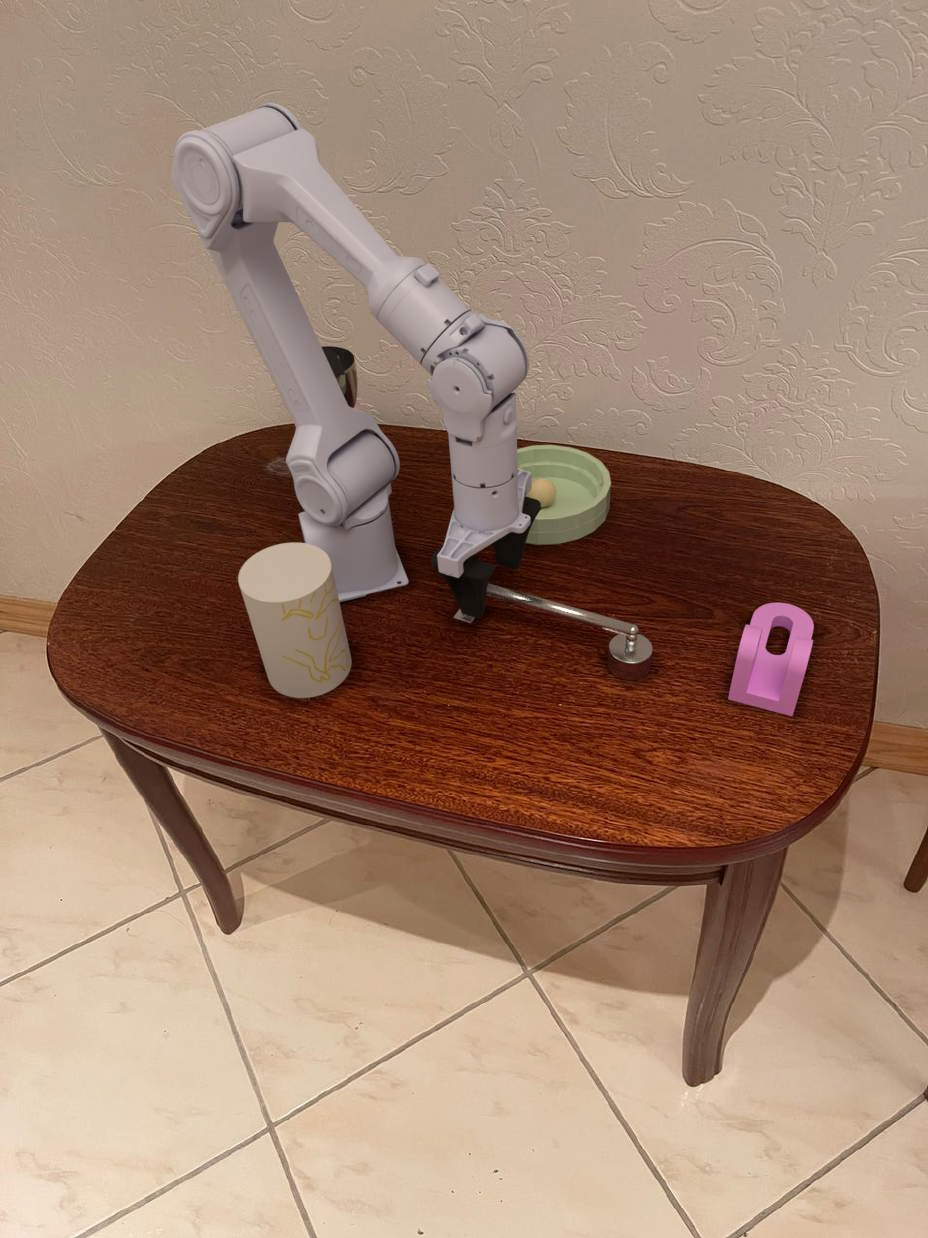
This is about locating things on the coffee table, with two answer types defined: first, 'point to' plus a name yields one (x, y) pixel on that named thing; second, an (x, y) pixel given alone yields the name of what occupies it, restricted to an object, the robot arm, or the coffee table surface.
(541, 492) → the dough ball
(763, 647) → the bracket
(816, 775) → the coffee table surface
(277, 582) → the cream cylinder
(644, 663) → the weighted chrome rod
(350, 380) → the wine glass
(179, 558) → the coffee table surface
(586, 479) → the bowl
